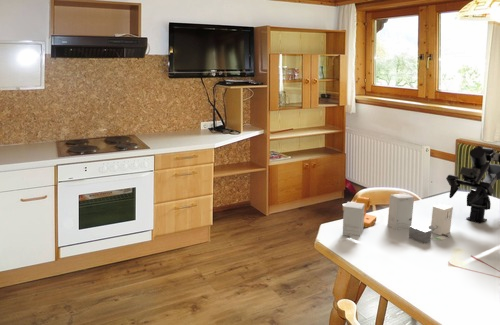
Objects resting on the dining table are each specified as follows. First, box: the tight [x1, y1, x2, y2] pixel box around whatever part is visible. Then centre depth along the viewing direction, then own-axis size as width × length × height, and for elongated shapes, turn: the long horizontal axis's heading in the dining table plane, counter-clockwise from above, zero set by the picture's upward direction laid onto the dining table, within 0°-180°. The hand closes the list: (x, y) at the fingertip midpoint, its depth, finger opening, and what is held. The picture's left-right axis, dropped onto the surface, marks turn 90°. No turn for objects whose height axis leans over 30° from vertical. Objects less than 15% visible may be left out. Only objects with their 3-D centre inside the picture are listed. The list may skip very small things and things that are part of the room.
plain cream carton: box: [428, 203, 454, 238], centre depth 180 cm, size 10×8×11 cm
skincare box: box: [387, 193, 415, 230], centre depth 188 cm, size 8×6×15 cm
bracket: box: [355, 196, 377, 228], centre depth 194 cm, size 11×7×12 cm, turn 147°
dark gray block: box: [408, 224, 432, 245], centre depth 175 cm, size 4×7×5 cm, turn 34°
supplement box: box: [342, 201, 365, 237], centre depth 183 cm, size 7×7×13 cm
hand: (459, 200), depth 187 cm, fingers open, 9 cm apart
